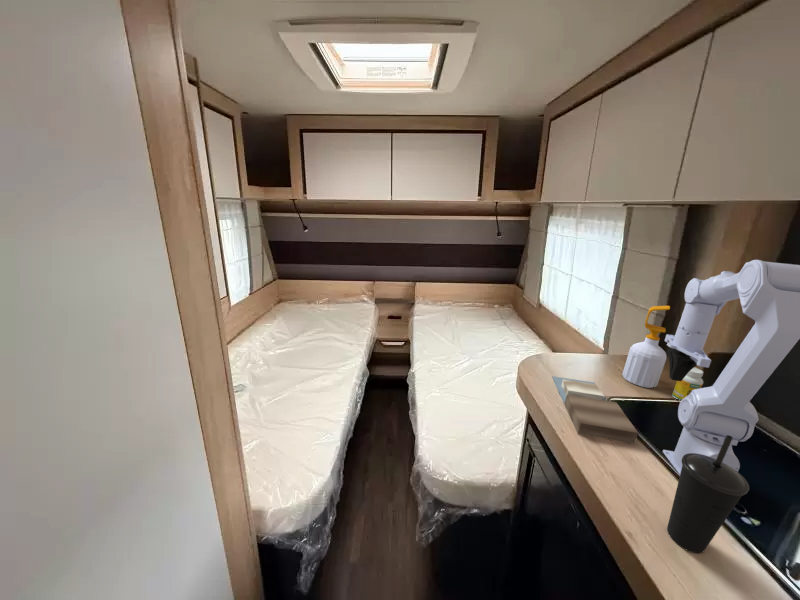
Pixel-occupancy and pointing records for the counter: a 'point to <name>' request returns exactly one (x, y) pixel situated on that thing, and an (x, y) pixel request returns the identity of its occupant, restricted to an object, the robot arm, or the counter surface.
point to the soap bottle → (646, 357)
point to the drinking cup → (704, 498)
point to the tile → (582, 389)
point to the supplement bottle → (688, 384)
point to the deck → (600, 419)
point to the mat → (558, 384)
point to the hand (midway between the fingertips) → (675, 379)
